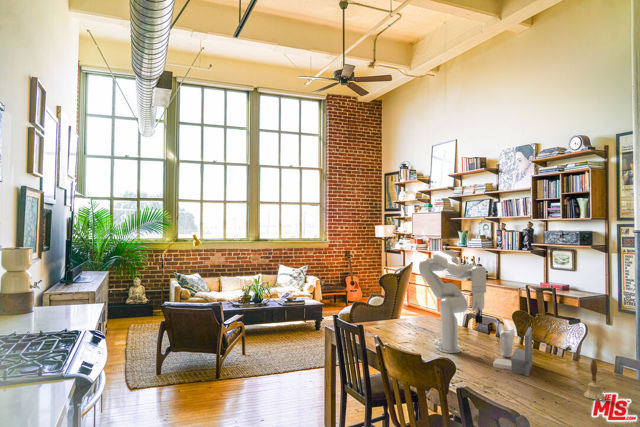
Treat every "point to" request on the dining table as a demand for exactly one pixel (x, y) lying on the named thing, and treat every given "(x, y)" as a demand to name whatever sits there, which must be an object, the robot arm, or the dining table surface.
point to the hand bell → (594, 385)
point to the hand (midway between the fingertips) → (478, 322)
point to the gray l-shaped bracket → (523, 356)
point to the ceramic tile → (502, 363)
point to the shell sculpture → (506, 340)
